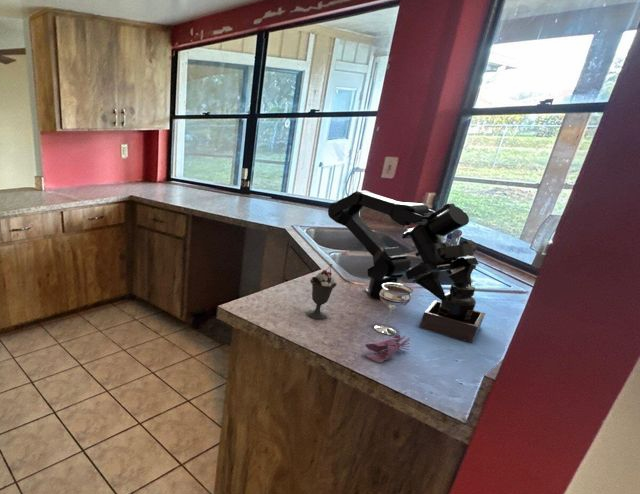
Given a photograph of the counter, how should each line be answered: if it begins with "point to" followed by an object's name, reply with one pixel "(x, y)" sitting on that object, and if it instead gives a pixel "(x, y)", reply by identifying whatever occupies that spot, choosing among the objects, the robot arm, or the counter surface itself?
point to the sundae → (321, 292)
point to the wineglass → (393, 302)
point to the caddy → (451, 323)
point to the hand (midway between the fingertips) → (457, 297)
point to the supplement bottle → (458, 303)
